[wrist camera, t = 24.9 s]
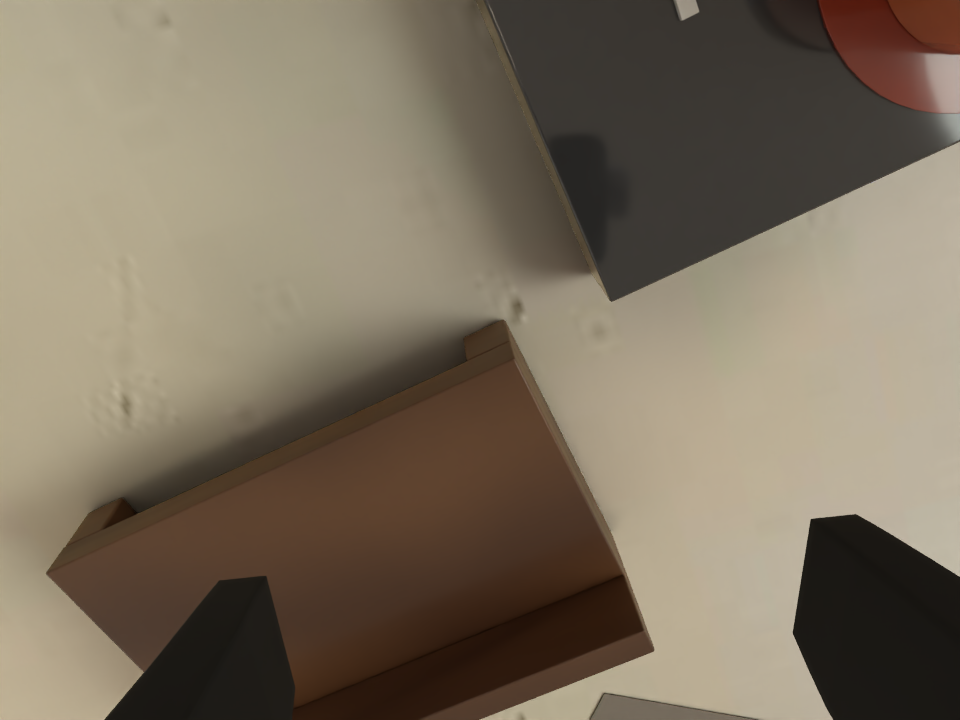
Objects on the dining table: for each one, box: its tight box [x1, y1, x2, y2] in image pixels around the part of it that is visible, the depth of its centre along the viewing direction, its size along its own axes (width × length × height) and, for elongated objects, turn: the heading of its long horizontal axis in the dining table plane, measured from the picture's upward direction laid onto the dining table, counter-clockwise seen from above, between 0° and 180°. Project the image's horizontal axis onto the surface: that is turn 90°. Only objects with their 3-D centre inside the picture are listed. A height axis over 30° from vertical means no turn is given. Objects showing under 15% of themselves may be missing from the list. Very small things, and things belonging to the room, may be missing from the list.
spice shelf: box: [46, 320, 654, 720], centre depth 19 cm, size 8×13×4 cm, turn 115°
